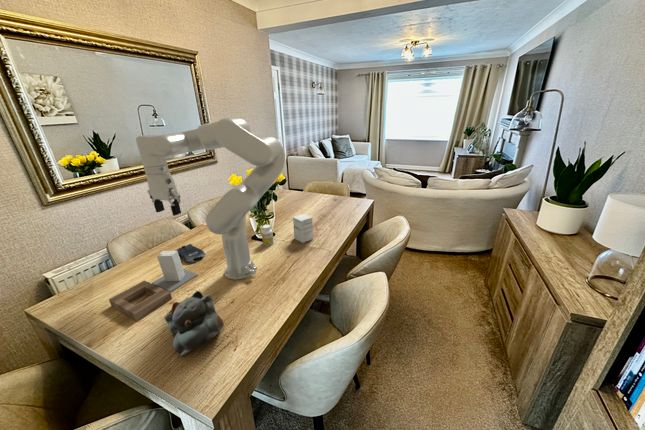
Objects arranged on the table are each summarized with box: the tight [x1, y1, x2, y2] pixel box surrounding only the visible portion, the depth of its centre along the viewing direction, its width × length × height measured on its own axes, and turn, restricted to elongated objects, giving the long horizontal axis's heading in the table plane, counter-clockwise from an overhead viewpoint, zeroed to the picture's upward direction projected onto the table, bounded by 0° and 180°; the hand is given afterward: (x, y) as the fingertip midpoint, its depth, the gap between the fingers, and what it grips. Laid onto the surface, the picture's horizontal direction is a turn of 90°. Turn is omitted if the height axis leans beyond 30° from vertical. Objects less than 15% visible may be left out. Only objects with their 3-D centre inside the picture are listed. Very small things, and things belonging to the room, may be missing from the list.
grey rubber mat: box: [151, 268, 199, 293], centre depth 103 cm, size 12×12×1 cm
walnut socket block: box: [108, 279, 173, 322], centre depth 90 cm, size 16×12×3 cm
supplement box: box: [292, 213, 314, 244], centre depth 132 cm, size 7×7×13 cm
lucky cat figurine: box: [163, 290, 224, 357], centre depth 75 cm, size 15×12×14 cm
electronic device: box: [174, 243, 206, 264], centre depth 120 cm, size 9×6×15 cm
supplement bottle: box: [261, 224, 274, 247], centre depth 128 cm, size 5×5×10 cm
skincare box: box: [156, 250, 185, 281], centre depth 100 cm, size 6×4×12 cm
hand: (168, 212), depth 100 cm, fingers open, 9 cm apart
